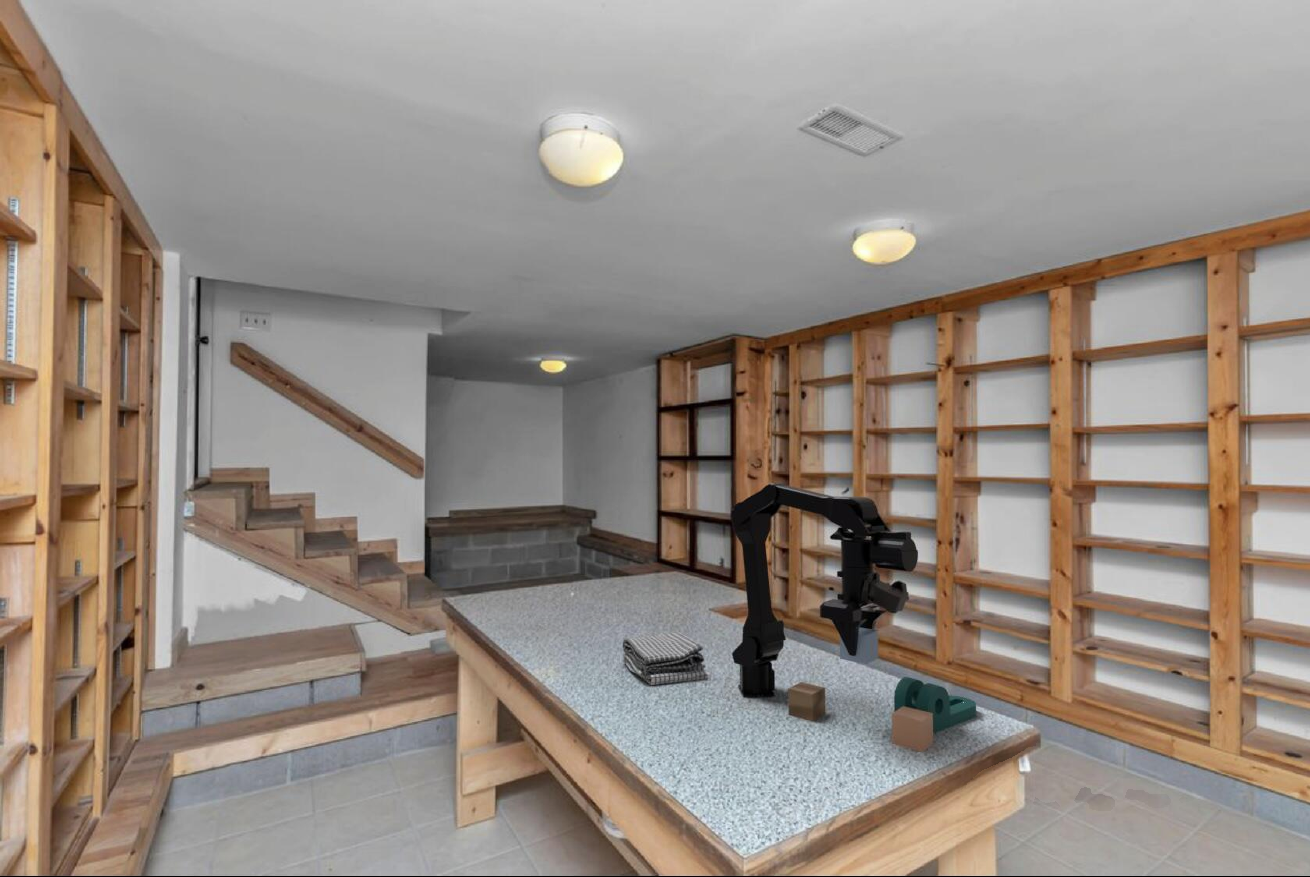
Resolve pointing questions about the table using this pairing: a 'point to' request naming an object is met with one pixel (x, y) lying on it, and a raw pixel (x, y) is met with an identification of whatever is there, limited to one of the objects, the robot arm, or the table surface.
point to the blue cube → (862, 647)
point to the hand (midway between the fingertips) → (858, 652)
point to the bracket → (934, 702)
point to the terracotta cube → (912, 728)
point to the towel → (664, 658)
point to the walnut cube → (806, 701)
